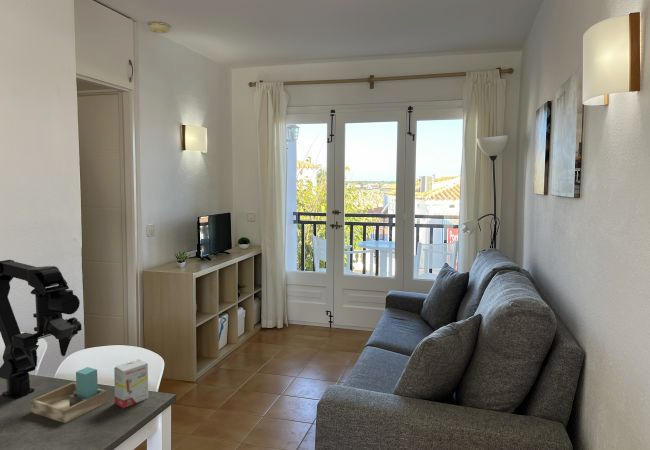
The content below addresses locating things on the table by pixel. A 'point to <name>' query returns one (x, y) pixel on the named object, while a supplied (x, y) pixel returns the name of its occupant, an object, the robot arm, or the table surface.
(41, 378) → the table surface
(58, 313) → the robot arm
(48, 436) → the table surface
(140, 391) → the ink box
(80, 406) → the walled box
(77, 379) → the plug
